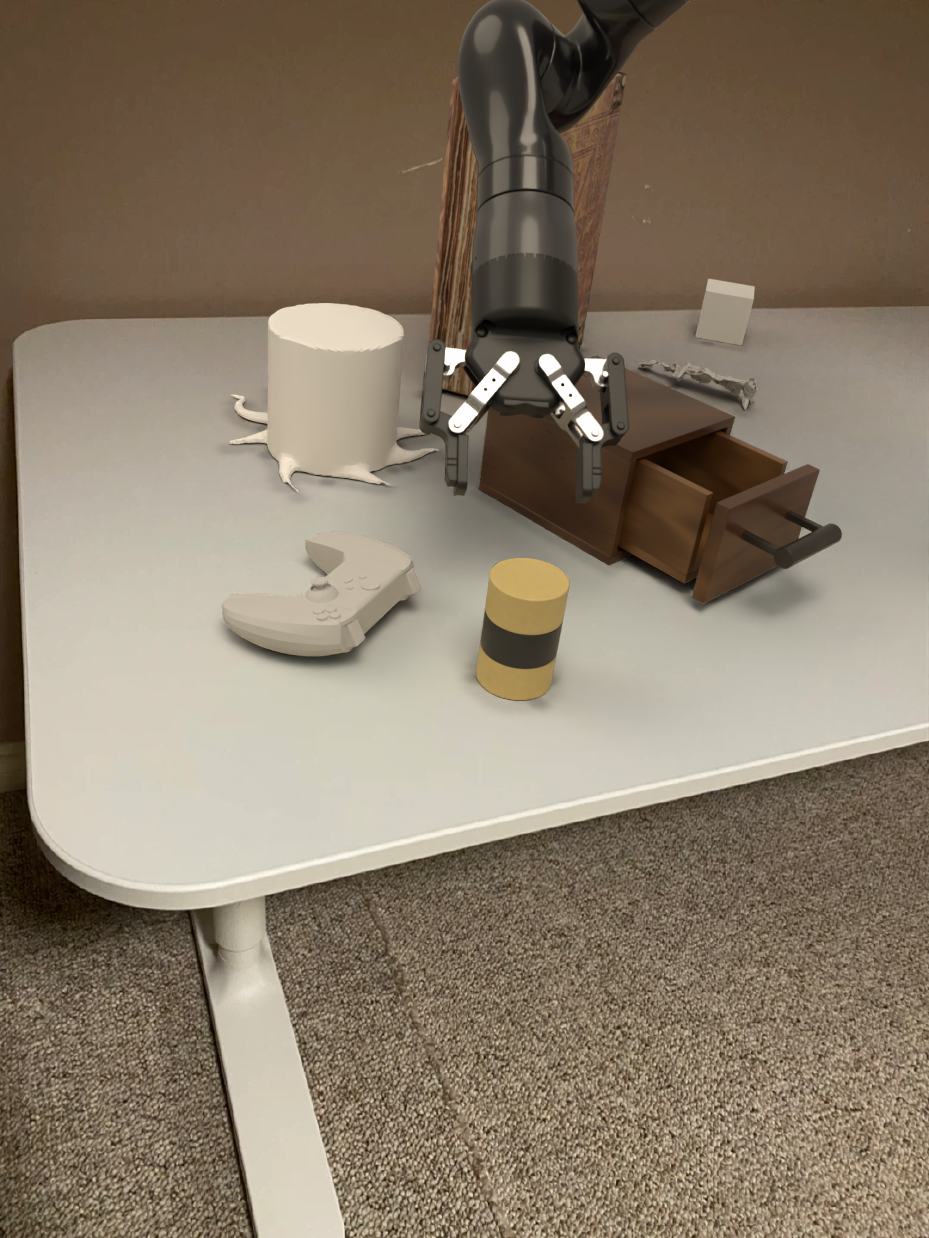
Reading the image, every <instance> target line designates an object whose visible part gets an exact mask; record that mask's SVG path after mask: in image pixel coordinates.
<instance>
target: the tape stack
mask: <svg viewBox="0 0 929 1238" xmlns="http://www.w3.org/2000/svg"><path fill="white" fill-rule="evenodd" d="M569 591H570V580H569V577H568V576H567V574H566V573H565V572H564V571H563V570H562V569H561V568H559V567H557V566H555V565H554V564H552V563H550V562H547V561H545V560H541V559H537V558H530V557H513V558H507V559H504V560H501V561H498V562H497V563H496V564H494V565H493V566H492V567H491V569H490V571H489V575H488V582H487V591H486V597H485V604H484V605H485V606H484V613H483V620H482V628H481V634H480V641H479V650H478V655H477V662H476V670H475V675H476V679H477V682H478V683H479V684H480V686H482V688H483V689H485V690H486V691H487V692H489V693H490V694H492V695H494V696H496V697H498V698H501V699H506V700H511V701H529V700H534V699H537V698H539V697H541V696H543V695H545V694H546V693H547V692H548V691H549V690H550V688H551V686H552V682H553V677H554V671H555V665H556V660H557V655H558V651H559V650H558V649H559V645H560V640H561V634H562V629H563V628H562V627H563V623H564V617H565V613H566V607H567V602H568V597H569Z"/></svg>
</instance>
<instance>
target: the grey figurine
mask: <svg viewBox="0 0 929 1238" xmlns="http://www.w3.org/2000/svg"><path fill="white" fill-rule="evenodd" d="M655 364H657V365H658V366H659V365H662V366H663V368H664V372H670V373H672V377H673V378H675V380H676V381H678V382H680V381H681V380H682V379H683V378H684V377H685V375H689V376H690V378H691V379H692V380H694V381H695V382H697V383H698V384H709V383H712V382H714V383H715V384H716V385H719V386H721V387H723V388H724V389H725V390H727V391H729V392H730V394H732V395H733V396H739V395H740V394H743V396H742V397H741V403H742V408H743V409H744V411H746V410H747V408H748V407H749V405H750V406H752V402H753V401H754V397H756V396H757V395H758V390H759V388H758V387H759V385H758V382H757V381H756V380H755V378H753V377H751V378H749V379H748V380H745V379H737V378H735V377H733V376H731V375H725V376H724V375H720V374H718V373H714V372H713V370H711V369H709V368H708V367H705V368H701V367H699V366H697V365H692V363H691V362H687V363H685V365H683V368H680V365H678V364H677V363H671V365H669V364H668V363H666V362H664V361H660V360H657V359H650V360H649V361H648V363H647V362H640V363H638V366H640V367H641V368H645V367H649V368H653V365H655Z"/></svg>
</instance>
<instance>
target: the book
mask: <svg viewBox="0 0 929 1238" xmlns="http://www.w3.org/2000/svg"><path fill="white" fill-rule="evenodd" d="M626 81H627V73H625V72H622V71H619V72H618V73H617V75H616V76H615V77H614V79H613V80H612V81H611V83H610V84H609V85H608V87H607V88H606V89H605V91H604V92H603V93H602V95H601V96H600V97H599V99H598V100H597V101H596V103H595V104H594V105H593V107H592V108H591V109H590V110H589V112H588V113H587V114H586V115H585V116H584V117H583V118H582V119H581V120H580V121H579V122H578V123H577V124H576V125H574V126H573V127H572V128H570V129H569V130H567V131H565V132H563V133H561V136H562V137H563V138H564V140H565V141H566V143H567V144H568V146H569V148H570V151H571V155H572V159H573V166H574V223H575V229H576V235H577V244H578V345H579V348H580V347H581V346H582V345H583V340H584V333H585V327H586V322H587V321H586V320H587V315H588V310H589V303H590V296H591V291H592V285H593V281H594V280H593V279H594V274H595V267H596V262H597V255H598V248H599V243H600V236H601V232H602V226H603V219H604V214H605V213H604V212H605V207H606V202H607V201H606V200H607V195H608V189H609V182H610V178H611V172H612V165H613V158H614V152H615V148H616V147H615V146H616V141H617V135H618V128H619V123H620V117H621V110H622V106H623V105H622V104H623V99H624V93H625V87H626ZM450 88H451V89H450V98H449V110H448V121H447V131H446V132H447V134H446V144H445V154H444V165H443V166H444V167H443V175H442V187H441V188H442V189H441V199H440V211H439V223H438V233H437V244H436V245H437V246H436V255H435V266H434V267H435V268H434V276H433V277H434V279H433V290H432V300H431V312H430V322H429V323H430V324H429V335H428V345H429V343H430V341H432V340H434V339H439V340H441V341H443V342H444V344H445V346H446V347H448V348H456V349H463V350H467V348H468V347H469V345H470V341H471V288H472V277H471V274H470V265H471V261H472V246H473V237H474V232H475V226H476V197H477V171H478V169H477V163H476V159H475V155H474V152H473V149H472V145H471V142H470V138H469V134H468V129H467V125H466V120H465V116H464V111H463V107H462V102H461V98H460V92H459V84H458V76H457V77H454V78H453V79H452V81H451V86H450ZM475 388H476V387H475V385H474V384H473V383H472V381H471V380H470V378H469V377H468V376H467V374H466V373H465V371H464V369H463V367H460V368H457V369H456V370H455V371H454V373H453V376H452V378H451V379H450V380H447V381H443V386H442V390H444V391H449V392H452V393H455V394H458V395H462V396H467V397H468V396H469V395H470V394H471V392H472V391H473V390H474V389H475Z"/></svg>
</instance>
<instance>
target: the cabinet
mask: <svg viewBox="0 0 929 1238" xmlns="http://www.w3.org/2000/svg"><path fill="white" fill-rule="evenodd" d="M588 358H590V359H605V358H604V357H602V356H599V355H594V356H590V357H588ZM625 378H626V391H627V405H628V418H629V430H628V431H627V433H626V434H625V435H624V436H623V437H622V438H621V440H620V442H619V443H618V444H617V445H615V446H605V447H602V448H601V482H602V483H601V485H600V487H599V490H598V491H597V492H596V493H595V494H594V495H592V497H591V499H590V500H589V501H588V502H587V503H576V459H575V454H576V452H577V451H578V449H579V447H578V446H577V445H576V443H575V442H574V441H573V439H572V438H571V437H570V435H569V434H568V433H567V432H566V431H565V430H562V429H561V428H560V427H559V425H558V424H557V423H556V421H555V420H554V419H553V417H552V416H551V415H550V414H548V415H544V417H543V418H532V417H529V416H526V415H523V414H518V415H513V416H501V415H499V412H497V411H495V410H493V409H492V408H490V409H489V410H488V411H487V416H486V425H485V433H484V441H483V447H482V448H483V450H482V458H481V463H480V464H481V466H480V474H479V481H478V490H479V491H481V492H483V493H485V494H486V495H488V496H490V497H492V498H493V499H495V500H497V501H499V502H500V503H502V504H504V505H506V506H507V507H509V508H510V509H512V510H514V511H516V512H517V513H520V515H522V516H524V517H526V518H528V519H529V520H531V521H532V522H534V523H537V524H538V525H539V526H541V527H543V528H545V529H546V530H548V531H550V532H552V533H553V534H554V535H557V536H558V537H560V538H561V539H563V540H565V541H567V542H569V543H570V544H572V545H574V546H576V547H577V548H579V549H580V550H582V551H584V552H586V553H588V554H589V555H591V556H593V557H594V558H596V559H598V560H600V561H601V562H602V563H605V564H606V565H608V566H610V565H612V564H615V563H617V562H619V561H621V560H624V559H626V558H628V557H631V556H634V555H633V554H631V553H630V552H628V551H626V550H624V549H623V548H621V547H619V546H618V545H619V540H620V535H621V531H622V526H623V521H624V517H625V512H626V507H627V502H628V498H629V493H630V488H631V483H632V479H633V474H634V469H635V465H636V459H639V458H642V457H645V456H648V455H650V454H653V453H656V452H659V451H662V450H664V449H667V448H670V447H673V446H676V445H678V444H681V443H684V442H687V441H690V440H692V439H695V438H698V437H701V436H704V435H707V434H709V433H712V432H715V431H718V430H720V431H722V432H724V433H726V434H728V435H731V434H732V430H733V426H734V422H735V419H736V416H735V415H733V414H731V413H728V412H726V411H723V410H721V409H719V408H717V407H714V406H712V405H710V404H708V403H705V402H703V401H701V400H699V399H697V398H694V397H691V396H689V395H687V394H685V393H683V392H681V391H678V390H676V389H674V388H671V387H669V386H667V385H665V384H662V383H660V382H658V381H656V380H653V379H652V378H649V377H647V376H644V375H643V374H640V373H637V372H635V371H633V370H631V369H629V368H626V367H625ZM574 387H575V388H576V389H577V391H578V392H579V393H580V395H581V396H582V397H583V399H584V400H585V402H586V404H587V408H588V410H589V412H590V413H591V414H592V416H593V417H594V418H595V420H596V421H597V422H598V424H599V425H602V415H601V401H600V391H596V390H595V389H594V388H593V387H592V385H591V381H590V380H589V379H588V378H587V377H585V376H581V378H580V380H579V381H578V382H577V383H576V385H575V386H574ZM569 397H570V396H569ZM560 413H561V412H560Z"/></svg>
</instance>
